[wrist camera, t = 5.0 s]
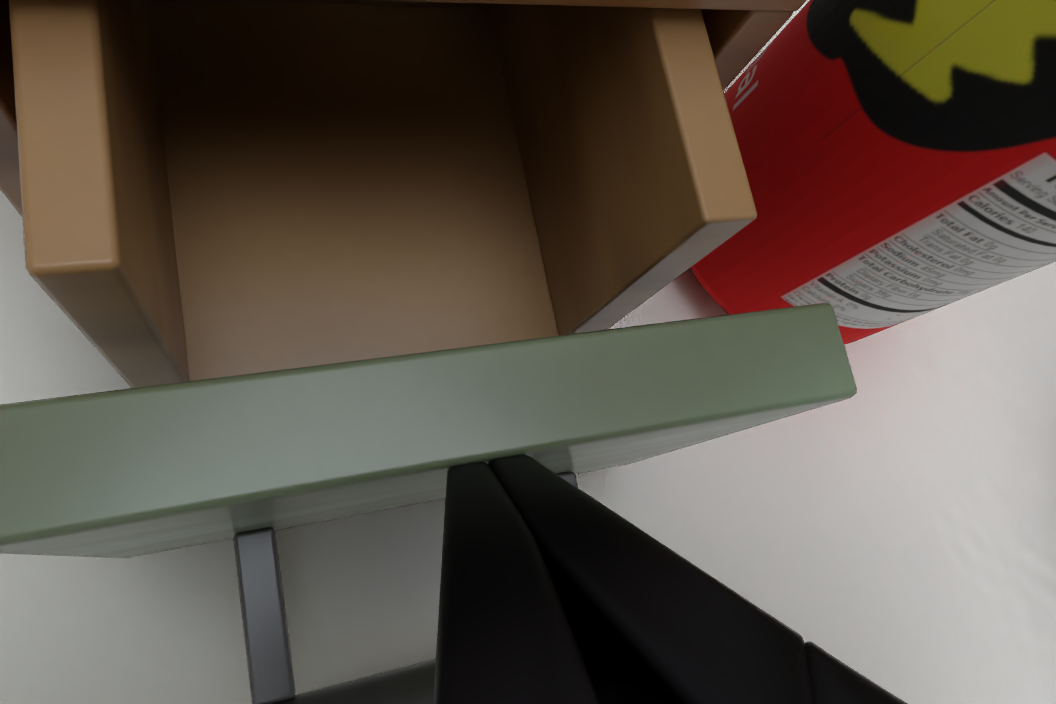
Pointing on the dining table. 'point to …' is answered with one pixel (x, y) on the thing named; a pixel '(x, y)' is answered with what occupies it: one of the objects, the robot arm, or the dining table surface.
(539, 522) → the robot arm
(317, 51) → the drawer
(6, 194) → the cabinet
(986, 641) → the dining table surface
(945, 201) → the beverage can
